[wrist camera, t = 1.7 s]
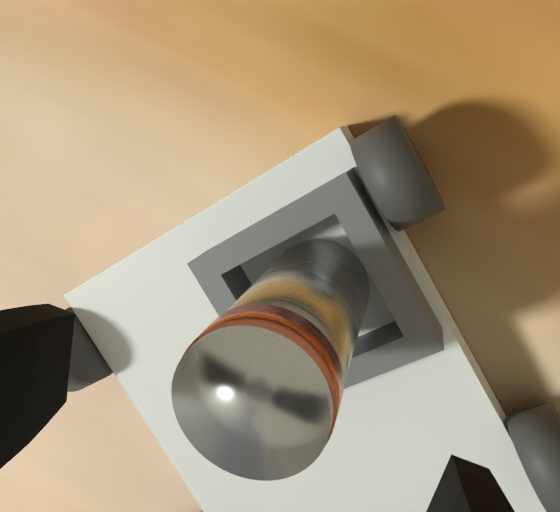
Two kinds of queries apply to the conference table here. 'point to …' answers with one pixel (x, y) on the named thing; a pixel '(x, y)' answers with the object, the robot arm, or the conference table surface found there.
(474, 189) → the conference table surface
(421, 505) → the trolley deck
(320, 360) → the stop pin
